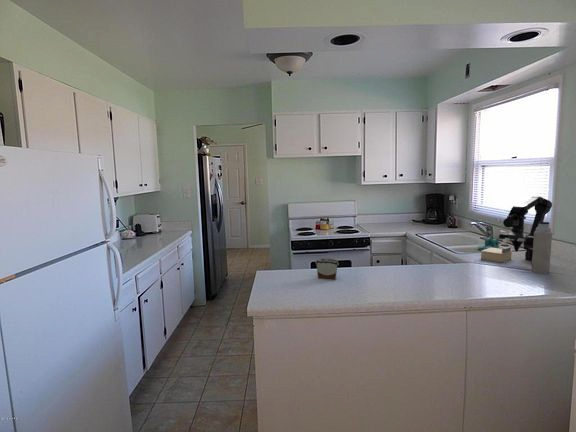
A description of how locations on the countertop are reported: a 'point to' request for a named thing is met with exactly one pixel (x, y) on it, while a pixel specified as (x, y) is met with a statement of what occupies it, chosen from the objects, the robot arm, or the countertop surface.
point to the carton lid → (498, 250)
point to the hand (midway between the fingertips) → (516, 251)
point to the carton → (496, 257)
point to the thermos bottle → (542, 248)
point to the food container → (326, 268)
